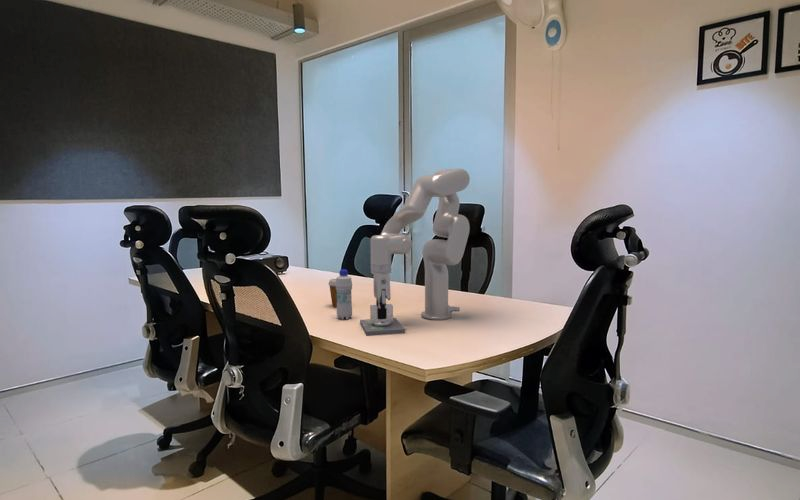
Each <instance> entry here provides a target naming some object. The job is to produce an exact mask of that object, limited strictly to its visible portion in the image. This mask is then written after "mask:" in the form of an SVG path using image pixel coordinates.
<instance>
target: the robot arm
mask: <svg viewBox="0 0 800 500" xmlns="http://www.w3.org/2000/svg"><path fill="white" fill-rule="evenodd" d="M470 181H471V180H470V174H469V173H468V171H467V170H465V169H464V168H449V169H448V168H446V169H445V168H444V169H439V170H437V171H435V172H434V173H433V174H428V175H425V174H424V175H422V176H419V177H418V178H417V179H416V180H415V182H414V184H413V186H412V188H411V190H410V192H409V194H408V195H407V199H406V200H405V202H404V204H403V206H402V207H401V208H400V209H399V210H397V212H395V213H394V214H393V216H391V218H389V220H387V222H386V223H385V225H384V227H383V229H382V231H381V233H380V234H378V235H377V234H376V235H372V236H371V237H370V273H371V274H373V296H374V298H375V305H378V307H379V308H378V319H386V318H387V308H386V304H387V301H391V296H392V295H391V280H390V274H391V273H392V255H406V254H407V253H409V252H410V251H411V250H412V248H413V241H412V239H411V238H410V236H408V235H406V234H401V232H402V231H403V229H404V228H406V227H407V226H409V225H410V224H413V223H415V222H417V221H419V220H420V219H422V218H423V217H424V215H425V213H426V211H427V209H428V206H429V205H430V204H431V203H430V202H431V200H432V199H433V198H438V205H437V210H436V213H435V217H434V220H433V223H432V232H433V234H434V235H435V236H437V237H440V238H441V237H442V238H447V240H445V239H437V238H436V239H433V238H432V239H429V240H428V241H426V242H425V243H424V244H423V247H422V258H423V259H422V260H423V263H424V311H423V312H421V313H420V317H421V318H423V319H425V320H430V321H431V320H432V321H441V320H442V321H443V320H449V319H451V318H452V317H453V314H452V313H453V312H460V309H461V308H460V306H453V305H452V306H450V305H449V270H448V266H455V265H458V264H459V263H460V262H461V261H462V258H463V256H464V255H465V254H464V253H465V249H466V246H467V243H468V238H469V235H470V231H471V230H470V229H471V228H470V222H469V219H468V218H467V217H466V216H465V215H464V214H463V215H462V214H459V209H460V198H459V196H458V194H457V193H460V192H461V191H464V190H465V189H466V188H467V187H469V185H470ZM447 265H448V266H447Z"/></svg>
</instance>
